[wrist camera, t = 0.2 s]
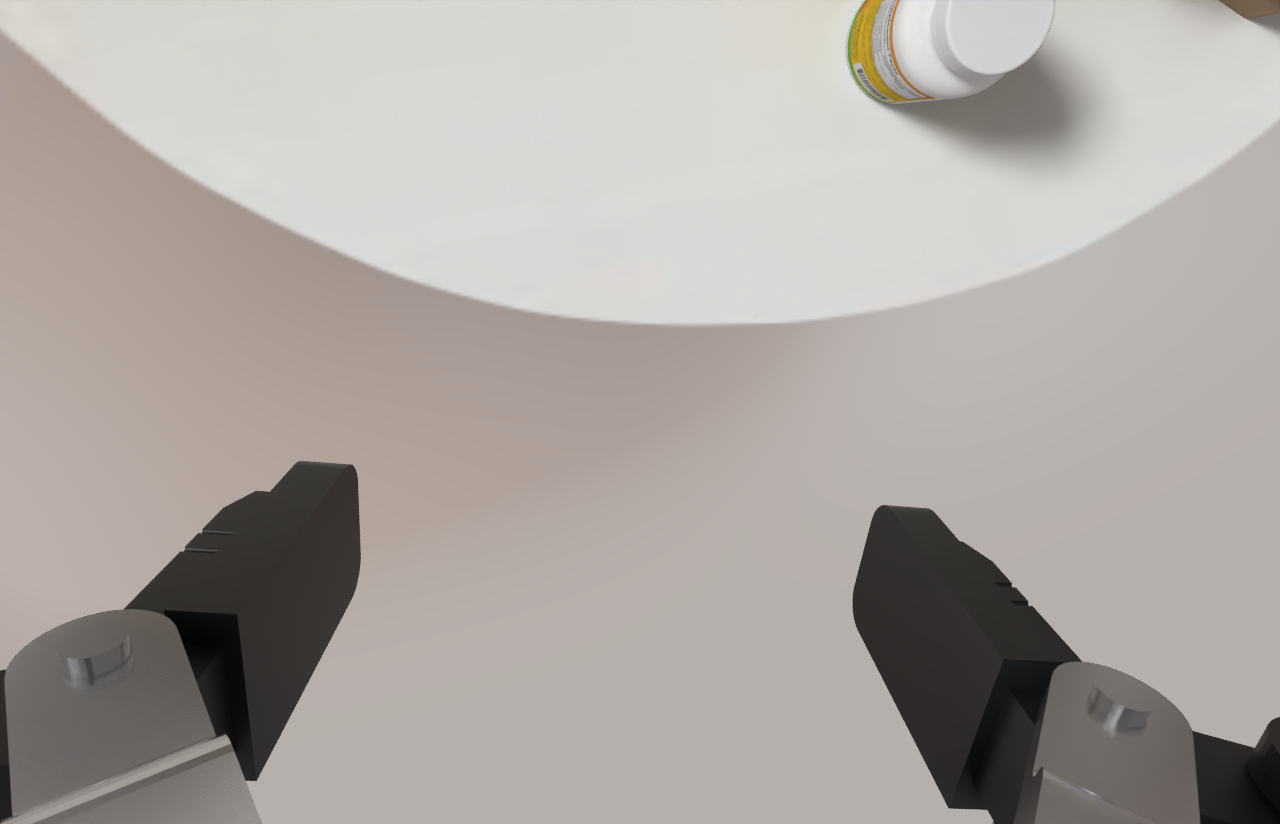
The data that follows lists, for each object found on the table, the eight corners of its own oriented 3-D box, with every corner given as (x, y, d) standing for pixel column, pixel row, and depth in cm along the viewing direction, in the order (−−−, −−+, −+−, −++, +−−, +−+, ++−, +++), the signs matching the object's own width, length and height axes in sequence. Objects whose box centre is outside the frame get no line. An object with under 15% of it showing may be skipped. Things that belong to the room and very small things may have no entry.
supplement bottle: (961, -20, 34) (1092, -74, 25) (942, 105, 36) (1058, 96, 27) (849, -22, 34) (940, -77, 25) (836, 103, 36) (917, 95, 27)
